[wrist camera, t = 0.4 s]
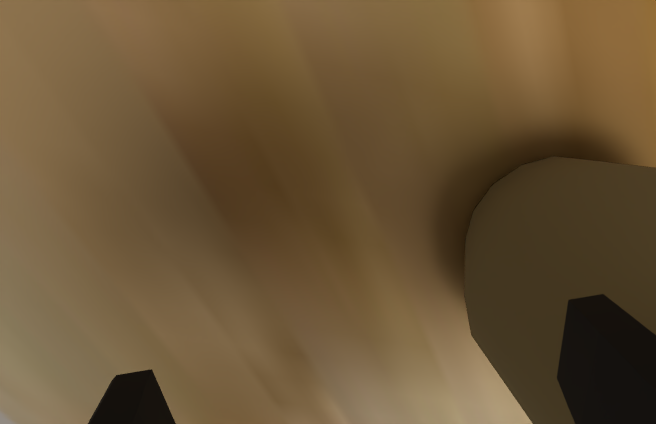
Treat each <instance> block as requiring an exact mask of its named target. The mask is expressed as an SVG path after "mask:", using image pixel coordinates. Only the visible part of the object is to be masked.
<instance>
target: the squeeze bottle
mask: <svg viewBox="0 0 656 424" xmlns="http://www.w3.org/2000/svg"><path fill="white" fill-rule="evenodd" d="M600 294H604V295H605V296H607V297H608V298H609V299H610V300H612V301H613V302H614V303H616V304H617V305H618V306H619V307H621V308H622V309H623V310H625V311H626V312H627V313H628V314H630V315H631V316H632V317H634V318H635V319H636V320H637V321H639V322H640V323H641V324H642V325H644V326H645V327H646V328H647V329H649V330H650V331H651V332H653V333H654V334H655V335H656V168H652V167H644V166H635V165H627V164H618V163H610V162H601V161H593V160H584V159H575V158H565V157H556V156H553V157H549V158H546V159H542V160H538V161H535V162H531V163H527V164H524V165H521V166H519V167H518V168H516V169H515V170H513V171H512V172H511V173H509V174H508V175H506V176H505V177H503V178H502V179H500V180H499V181H497V182H496V183H494V184H493V185H492V186H491V188H490V189H489V190H488V192H487V193H486V194H485V196H484V197H483V198H482V200H481V201H480V203H479V204H478V205H477V207H476V208H475V209H474V211H473V214H472V217H471V221H470V225H469V228H468V232H467V236H466V239H465V290H464V297H465V302H466V308H467V313H468V319H469V325H470V330H471V335H472V337H473V338H474V340H475V341H476V343H477V344H478V345H479V347H480V348H481V350H482V351H483V353H484V354H485V356H486V357H487V358H488V360H489V361H490V363H491V364H492V366H493V367H494V368H495V370H496V371H497V373H498V374H499V376H500V377H501V378H502V380H503V381H504V383H505V384H506V386H507V387H508V389H509V390H510V391H511V393H512V394H513V396H514V397H515V399H516V400H517V401H518V403H519V404H520V406H521V407H522V409H523V410H524V411H525V413H526V414H527V416H528V417H529V419H530V420H531V422H532V423H533V424H575V422H574V420H573V417H572V415H571V413H570V410H569V408H568V405H567V403H566V400H565V398H564V395H563V393H562V390H561V388H560V385H559V382H558V380H557V372H558V366H559V359H560V352H561V345H562V339H563V332H564V325H565V319H566V312H567V305H568V300H570V299H576V298H582V297H588V296H594V295H600Z"/></svg>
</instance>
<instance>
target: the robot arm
mask: <svg viewBox="0 0 656 424" xmlns="http://www.w3.org/2000/svg"><path fill="white" fill-rule="evenodd" d="M557 380H558V382H559V385H560V388H561V390H562V393H563V395H564V398H565V400H566V403H567V405H568V408H569V410H570V413H571V415H572V417H573V420H574V422H575V424H656V335H655V334H654V333H653V332H651V331H650V330H649V329H647V328H646V327H645V326H644V325H642V324H641V323H640V322H639V321H637V320H636V319H635V318H634V317H632V316H631V315H630V314H628V313H627V312H626V311H625V310H623V309H622V308H621V307H619V306H618V305H617V304H616V303H614V302H613V301H612V300H610V299H609V298H608V297H607V296H605V295H604V294H600V295H594V296H588V297H582V298H576V299H570V300H568V305H567V312H566V319H565V325H564V332H563V339H562V345H561V352H560V359H559V366H558V372H557ZM88 424H176V423H175V421H174V419H173V417H172V414H171V412H170V410H169V408H168V405H167V403H166V401H165V398H164V396H163V394H162V392H161V389H160V387H159V385H158V382H157V380H156V378H155V376H154V373H153V371H152V369H151V370H145V371H139V372H133V373H127V374H121V375H116V376H115V378H114V379H113V380H112V381H111V383H110V385H109V387H108V389H107V390H106V392H105V394H104V396H103V398H102V399H101V401H100V403H99V405H98V407H97V408H96V410H95V412H94V414H93V416H92V417H91V419H90V421H89V423H88Z"/></svg>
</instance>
